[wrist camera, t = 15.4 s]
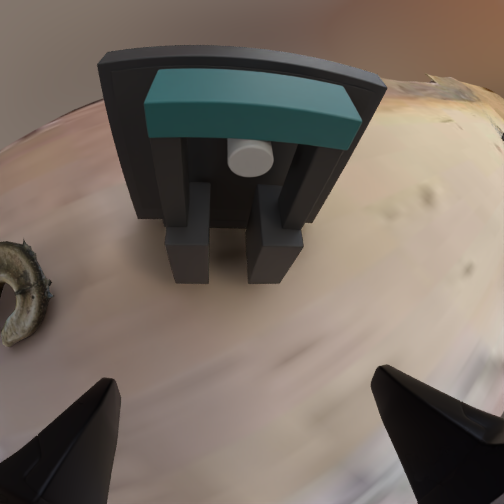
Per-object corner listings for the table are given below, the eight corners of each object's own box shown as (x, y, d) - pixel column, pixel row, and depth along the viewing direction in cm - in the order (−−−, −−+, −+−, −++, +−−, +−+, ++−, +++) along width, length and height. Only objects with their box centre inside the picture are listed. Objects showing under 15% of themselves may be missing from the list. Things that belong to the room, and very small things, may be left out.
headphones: (279, 284, 19) (371, 136, 8) (175, 283, 18) (136, 118, 7) (274, 232, 21) (338, 76, 10) (178, 231, 20) (162, 60, 8)
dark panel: (316, 286, 22) (432, 156, 9) (133, 285, 20) (48, 132, 7) (294, 162, 28) (342, 34, 15) (154, 157, 25) (140, 17, 13)
